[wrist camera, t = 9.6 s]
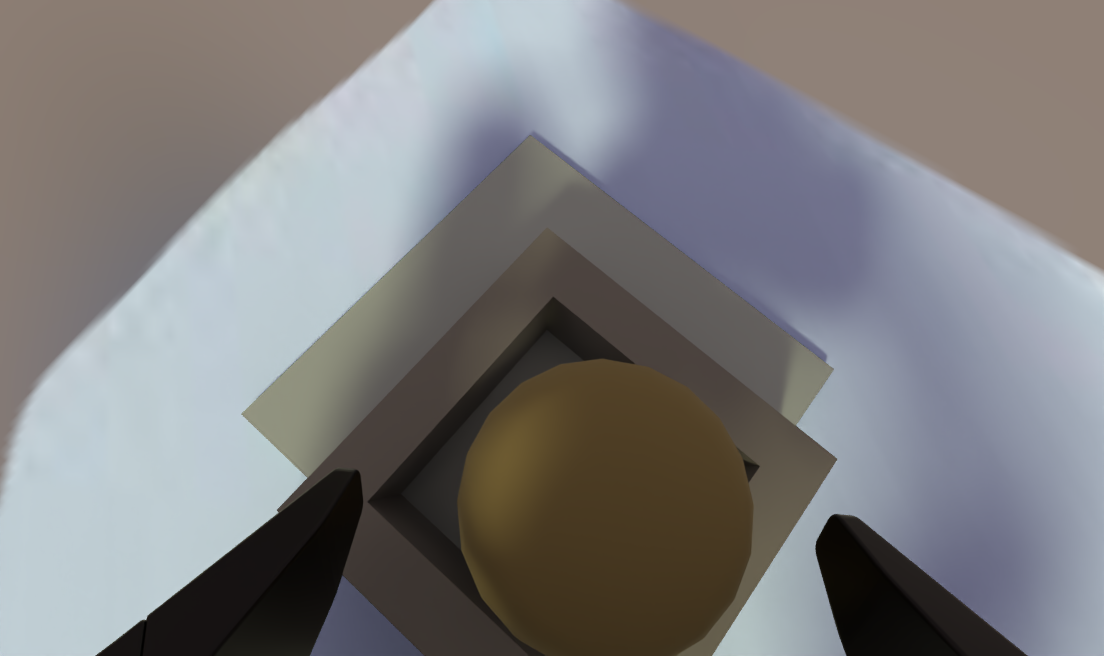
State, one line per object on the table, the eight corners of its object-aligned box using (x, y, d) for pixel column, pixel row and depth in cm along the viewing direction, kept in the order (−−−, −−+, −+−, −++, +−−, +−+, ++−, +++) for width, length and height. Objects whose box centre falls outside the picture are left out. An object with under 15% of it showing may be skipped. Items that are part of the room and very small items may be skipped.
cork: (545, 367, 19) (575, 247, 8) (675, 464, 18) (885, 465, 8) (443, 501, 18) (324, 558, 7) (580, 612, 17) (682, 863, 6)
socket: (579, 731, 16) (600, 829, 12) (249, 415, 18) (164, 400, 14) (825, 372, 20) (909, 346, 16) (530, 143, 22) (532, 64, 18)
